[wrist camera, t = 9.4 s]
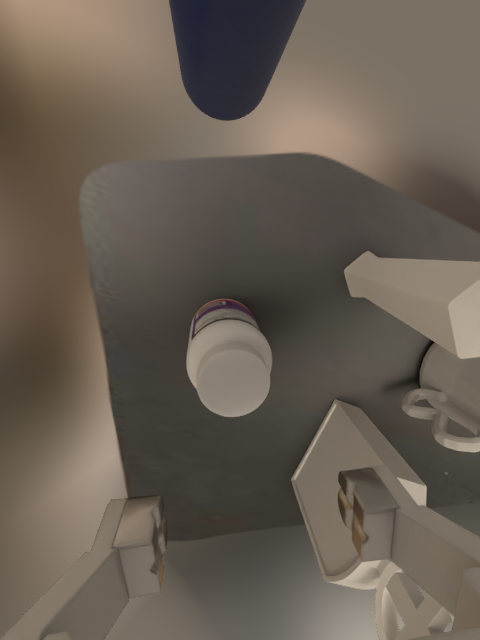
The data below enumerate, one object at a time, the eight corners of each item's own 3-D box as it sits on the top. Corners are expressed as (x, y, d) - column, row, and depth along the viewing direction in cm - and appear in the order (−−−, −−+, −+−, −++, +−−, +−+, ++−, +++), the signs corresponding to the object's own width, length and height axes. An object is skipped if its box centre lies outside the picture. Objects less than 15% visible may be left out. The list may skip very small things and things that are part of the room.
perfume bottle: (349, 240, 25) (534, 259, 11) (398, 254, 26) (632, 288, 12) (330, 296, 26) (476, 378, 12) (378, 307, 27) (569, 398, 13)
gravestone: (290, 479, 31) (393, 786, 14) (335, 398, 29) (518, 644, 12) (314, 486, 32) (441, 790, 15) (360, 408, 30) (569, 655, 13)
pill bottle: (245, 365, 28) (265, 437, 18) (183, 350, 27) (171, 418, 17) (264, 306, 26) (297, 351, 17) (200, 288, 25) (197, 325, 16)
